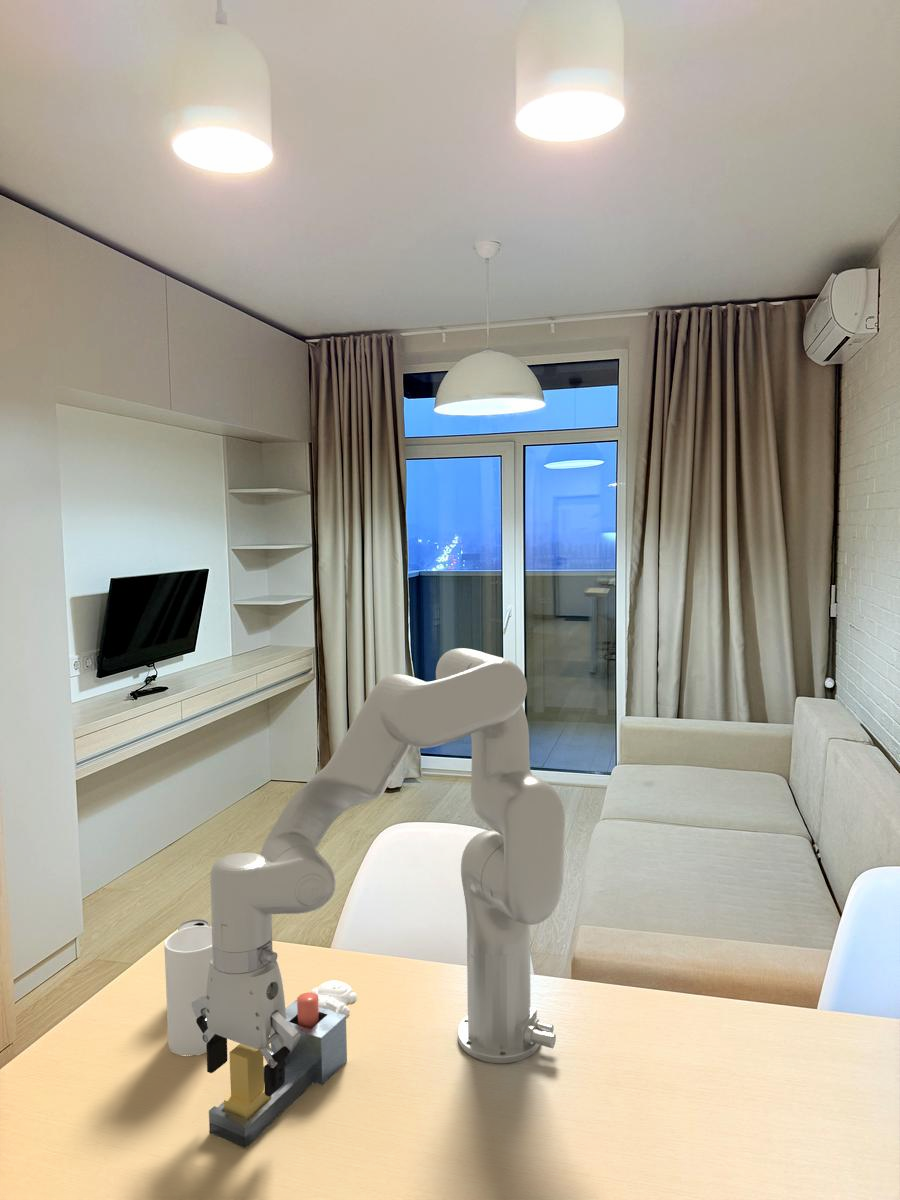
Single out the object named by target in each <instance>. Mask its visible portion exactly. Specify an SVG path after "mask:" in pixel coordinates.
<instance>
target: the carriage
mask: <svg viewBox="0 0 900 1200" xmlns="http://www.w3.org/2000/svg"><path fill="white" fill-rule="evenodd" d="M264 1066H265V1065H264V1056H263V1054H262V1052H261V1051H260V1049H255V1048H252V1047H249V1046H246V1045H243V1044H240V1043H238V1045H237V1046H235V1047H234V1048H233V1049H231V1050H230V1051H229V1074H230V1077H229V1078H230V1079H229V1080H230V1081H229V1082H230V1094H229V1095H228V1096H226V1098H225V1099H223V1102H224V1110H225V1111H227V1112H230V1113H232V1114H235V1115H237V1116H239V1117H242V1118H244V1119H247V1120H249V1119H250V1118H251V1117H252V1116H253V1115H254V1114H255V1113H256V1112H257V1111H258V1110H260V1109H261V1108H262V1107H263V1106H264V1105H265V1104H266V1103H267V1102H268V1101H269V1100H270V1099H271V1096H270V1097H269V1096H266V1095H265V1086H264Z"/></svg>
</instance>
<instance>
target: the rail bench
mask: <svg viewBox="0 0 900 1200" xmlns="http://www.w3.org/2000/svg"><path fill="white" fill-rule="evenodd" d="M285 1011H286V1020H287V1021H288V1022H289V1023H290V1024H291V1025H292V1026H293V1027H294V1028H295V1029H296V1030H297V1031H298V1032H299V1033H300V1039H299V1041H298V1043H297V1045H296V1046H295V1050H294V1051H293V1052H291V1053H290V1054H289V1055H288V1056H287V1057H286V1058H285V1059H284V1063H285V1081H284V1084H283V1085H282V1086H281V1087H280V1088H279V1089H278V1090H277V1091H276V1092H274V1093H273V1094H272V1095H271V1099H270V1100H269V1101H268V1102H267V1103H266V1104H265V1105H264V1106H263V1107H262V1108H261V1109H260V1110H258V1111H257V1112H256V1113H255V1114H254V1115H253V1116H252V1117H251V1118H250V1119H249V1120H247V1119H244V1118H242V1117H239V1116H237V1115H235V1114H232V1113H230V1112H227V1111H225V1110H224V1101H223V1102H222V1103H220V1104H219V1105H218V1106H212V1108H210V1109H209V1110H208V1123H209V1126H208V1127H209V1134H211V1135H213V1136H216V1137H218V1138H220V1137H221V1139H223V1140H225V1141H227V1142H230V1143H232V1144H234V1145H236V1146H239V1147H241V1148H243V1149H244V1150H245V1149H247V1148H248V1147H249V1146H250V1145H251V1144H252V1143H253V1142H255V1140H256V1139H257V1138H258V1137H259V1136H260V1135H262V1133H263V1132H264V1131H265V1130H267V1128H269V1127H270V1126H271V1124H272V1123H274V1121H276V1120H277V1119H278V1118H279V1117H280V1116H281V1115H282V1113H283V1114H284V1112H285V1111H286V1110H287V1109H288V1108H289V1107H290V1106H291V1105H292V1104H293V1103H294V1102H295V1101H296V1100H297V1099H298V1098H299V1097H301V1095H302V1094H304V1093H305V1091H306V1090H308V1089H309V1087H311V1086H312V1085H313V1084H317V1085H319V1086H324V1085H325V1084H326V1083H327V1082H328V1081H330V1079H331V1078H332V1077H333V1076H334V1075H335V1074H336V1073H337V1072H338V1071H339V1070H340V1069H341V1068H342V1067H343V1066H344V1065H345V1064H346V1063H347V1062H348V1049H347V1044H348V1042H347V1016H346V1015H343V1014H340V1013H337V1012H333V1011H330V1010H327V1009H324V1008H321V1007H319V1023H318V1024H316V1025H315V1026H314V1027H313V1028H312V1029H309V1028H306V1027H303V1026H300V1025H298V1012H297V999H296V1000H294V1001H293V1002H292V1003H290V1004H289V1005H288V1006H287V1007H285ZM279 1035H280V1034H279ZM280 1036H281V1035H280ZM281 1038H282V1040H283V1042H284V1038H283V1037H282V1036H281ZM270 1048H271V1050H272V1051H273V1053H274V1054H275V1053H276V1052H277V1049H276V1048H275V1046H274V1044H273V1042H271V1043H270ZM264 1067H265V1065H264ZM312 1083H313V1084H312Z"/></svg>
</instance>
